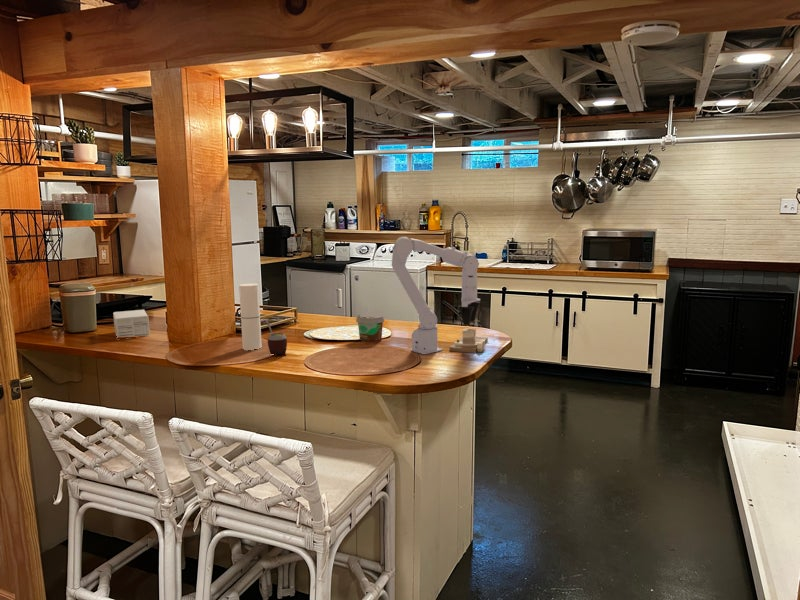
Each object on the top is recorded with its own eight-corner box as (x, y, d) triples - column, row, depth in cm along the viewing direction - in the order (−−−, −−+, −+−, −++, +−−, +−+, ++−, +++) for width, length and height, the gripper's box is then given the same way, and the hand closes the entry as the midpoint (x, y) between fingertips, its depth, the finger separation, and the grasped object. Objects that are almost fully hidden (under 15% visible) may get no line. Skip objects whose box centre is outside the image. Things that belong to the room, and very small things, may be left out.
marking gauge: (481, 351, 215) (481, 332, 214) (453, 349, 219) (453, 330, 218) (485, 348, 221) (485, 329, 220) (458, 346, 225) (458, 327, 224)
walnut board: (475, 352, 215) (475, 348, 215) (449, 350, 219) (449, 346, 219) (487, 341, 234) (487, 337, 233) (463, 339, 237) (463, 335, 237)
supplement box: (114, 332, 260) (112, 312, 258) (146, 329, 266) (144, 309, 264) (116, 340, 245) (114, 318, 243) (150, 336, 251) (148, 315, 250)
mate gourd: (290, 353, 218) (288, 314, 216) (282, 358, 210) (280, 318, 208) (271, 352, 219) (269, 313, 217) (263, 358, 212) (261, 317, 209)
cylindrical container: (249, 351, 222) (245, 286, 218) (239, 348, 227) (235, 285, 222) (265, 347, 227) (262, 284, 223) (254, 345, 232) (251, 283, 228)
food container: (350, 341, 237) (350, 317, 235) (358, 338, 242) (358, 314, 240) (377, 344, 231) (376, 319, 229) (384, 340, 236) (384, 316, 235)
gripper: (475, 290, 208) (474, 327, 210) (484, 284, 222) (484, 319, 224) (456, 289, 211) (456, 325, 213) (466, 284, 224) (466, 318, 226)
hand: (469, 322), depth 219 cm, fingers open, 7 cm apart
